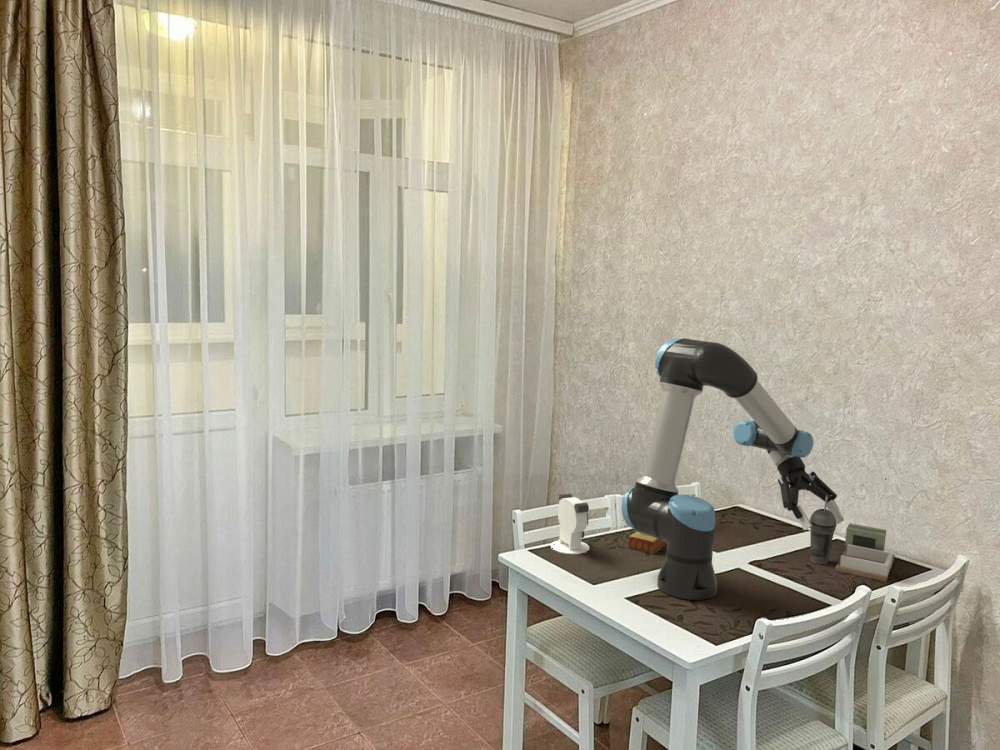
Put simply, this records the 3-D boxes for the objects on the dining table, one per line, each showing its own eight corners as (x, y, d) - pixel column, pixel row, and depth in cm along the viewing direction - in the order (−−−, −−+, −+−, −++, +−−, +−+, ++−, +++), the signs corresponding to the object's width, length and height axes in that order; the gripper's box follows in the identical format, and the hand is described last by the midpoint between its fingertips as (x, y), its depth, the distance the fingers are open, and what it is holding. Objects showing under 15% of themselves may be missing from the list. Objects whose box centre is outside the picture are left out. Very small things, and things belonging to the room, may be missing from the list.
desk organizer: (886, 581, 212) (889, 553, 210) (835, 570, 218) (837, 543, 217) (894, 558, 230) (897, 532, 229) (847, 548, 236) (849, 523, 235)
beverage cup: (828, 557, 228) (834, 491, 225) (836, 567, 221) (843, 499, 218) (802, 556, 229) (808, 490, 226) (809, 565, 222) (816, 497, 219)
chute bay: (887, 576, 213) (888, 565, 212) (840, 566, 219) (841, 556, 219) (892, 563, 223) (893, 553, 222) (846, 553, 229) (847, 543, 229)
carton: (627, 549, 231) (628, 535, 230) (648, 535, 244) (648, 521, 243) (653, 555, 226) (654, 541, 226) (673, 540, 240) (674, 527, 239)
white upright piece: (597, 552, 226) (600, 502, 224) (563, 557, 222) (566, 506, 220) (576, 538, 237) (579, 491, 235) (544, 543, 232) (546, 494, 230)
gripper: (808, 464, 243) (845, 525, 232) (750, 472, 231) (785, 536, 220) (824, 451, 238) (862, 513, 227) (765, 458, 226) (802, 524, 215)
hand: (824, 525), depth 223 cm, fingers open, 13 cm apart
